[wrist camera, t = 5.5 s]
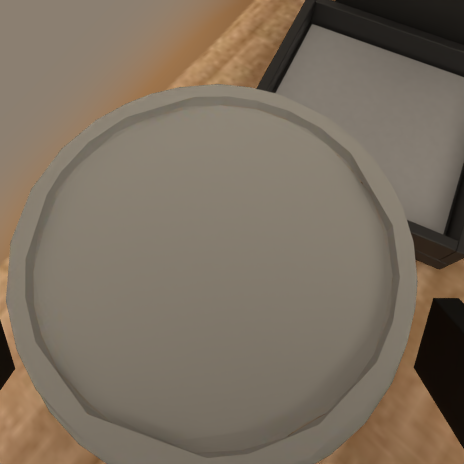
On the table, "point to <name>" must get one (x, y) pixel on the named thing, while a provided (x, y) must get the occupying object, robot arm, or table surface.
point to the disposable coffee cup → (212, 281)
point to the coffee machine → (390, 100)
